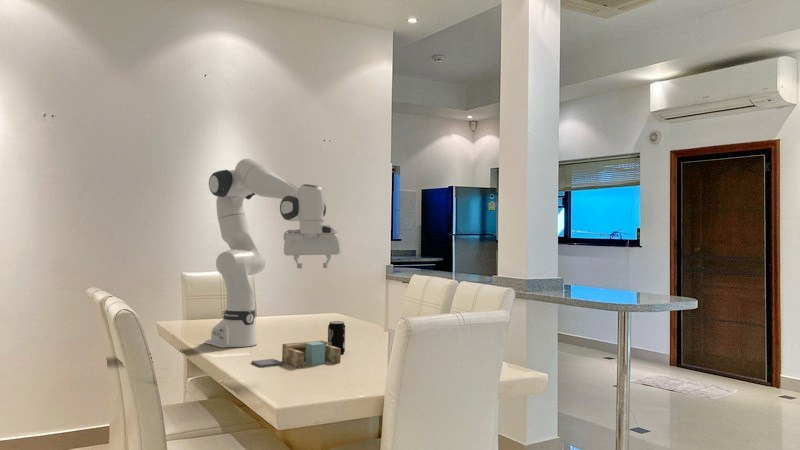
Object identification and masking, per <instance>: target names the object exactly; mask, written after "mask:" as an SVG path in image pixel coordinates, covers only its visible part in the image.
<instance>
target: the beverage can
mask: <svg viewBox="0 0 800 450" xmlns="http://www.w3.org/2000/svg"><path fill="white" fill-rule="evenodd" d="M328 323H329V324H328V326H327V345H331V346H334V347H337V348H341V355H343V354H344V353H345V351H346V347H345V346H346V325H345V322H344V321H341V320H334V321H329V322H328Z"/></svg>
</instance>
